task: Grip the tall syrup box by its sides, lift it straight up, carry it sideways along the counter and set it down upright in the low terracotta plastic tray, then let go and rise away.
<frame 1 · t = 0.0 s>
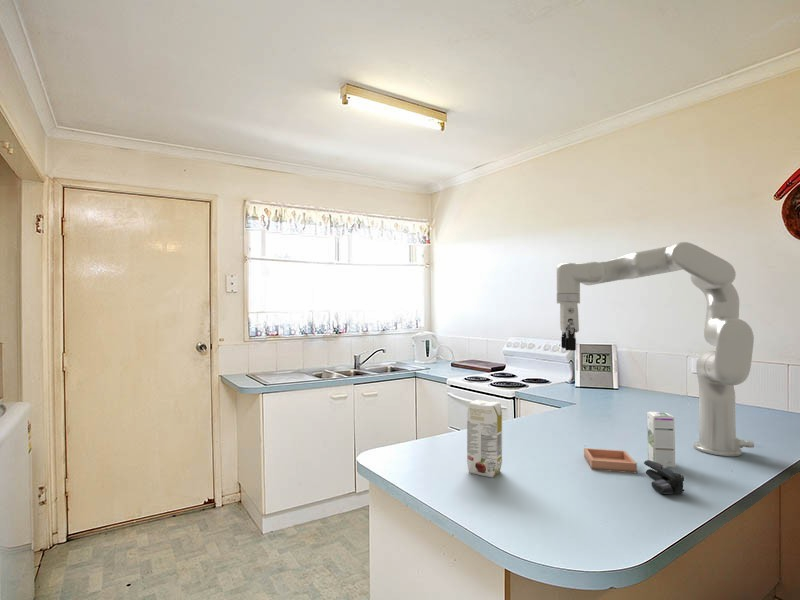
hand: (568, 349, 155), 31 cm above the table, tool pointing down, fingers open, 9 cm apart
can opener: (661, 485, 116), on the table
juice carton: (484, 472, 124), on the table
syrup box: (661, 464, 131), on the table
tray: (609, 464, 131), on the table
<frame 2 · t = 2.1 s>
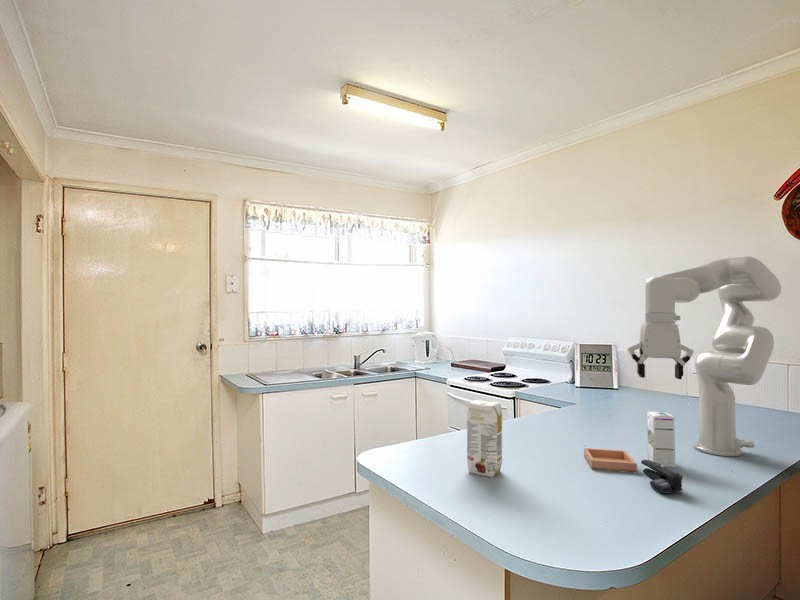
hand: (659, 377, 132), 25 cm above the table, tool pointing down, fingers open, 9 cm apart
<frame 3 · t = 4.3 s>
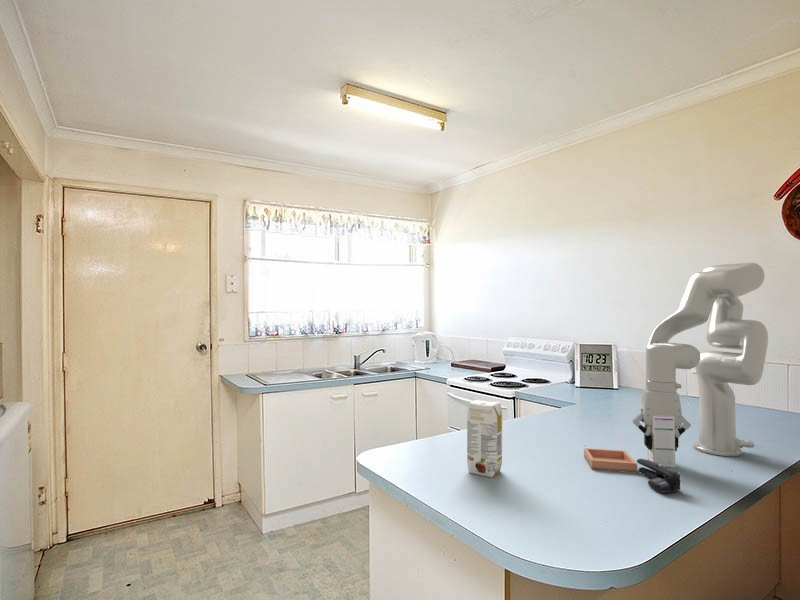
hand: (661, 448, 131), 4 cm above the table, tool pointing down, fingers closed on syrup box, 5 cm apart
syrup box: (661, 464, 131), on the table, touching gripper
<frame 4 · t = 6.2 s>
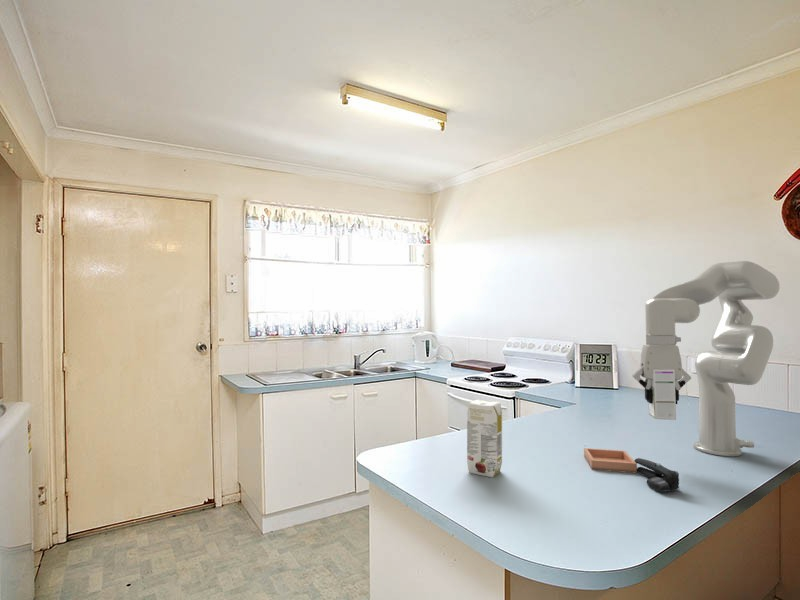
hand: (661, 402, 132), 18 cm above the table, tool pointing down, fingers closed on syrup box, 5 cm apart
syrup box: (662, 417, 132), point 13 cm above the table, touching gripper
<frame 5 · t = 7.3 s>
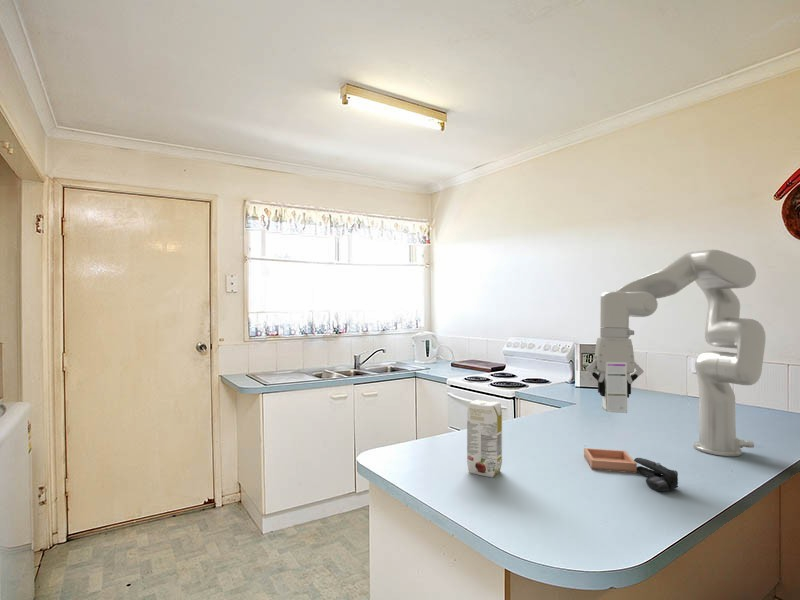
hand: (614, 395, 131), 20 cm above the table, tool pointing down, fingers closed on syrup box, 5 cm apart
syrup box: (614, 411, 131), point 15 cm above the table, touching gripper
when the fingers open (6 cm above the table, at t = 10.4 s): syrup box drops 1 cm, resting on tray.
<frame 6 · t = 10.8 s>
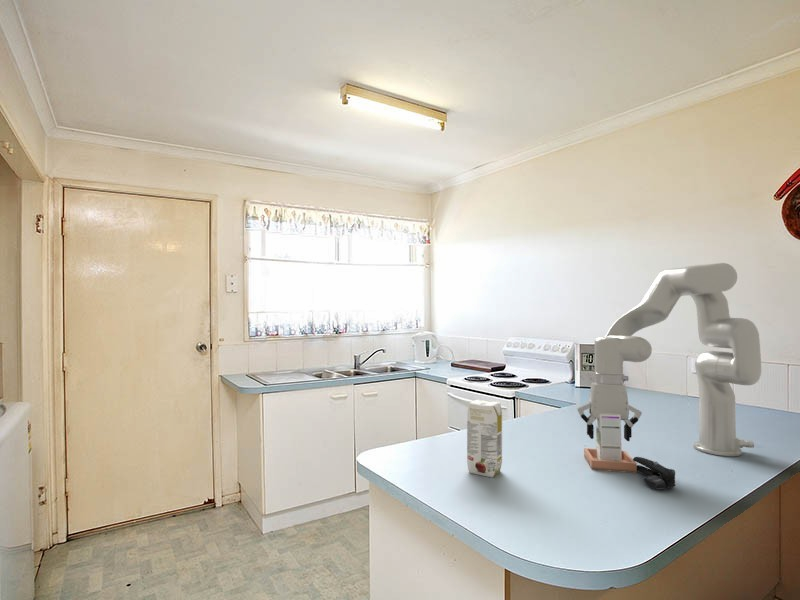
hand: (608, 438, 131), 7 cm above the table, tool pointing down, fingers open, 9 cm apart
syrup box: (608, 462, 131), resting on tray
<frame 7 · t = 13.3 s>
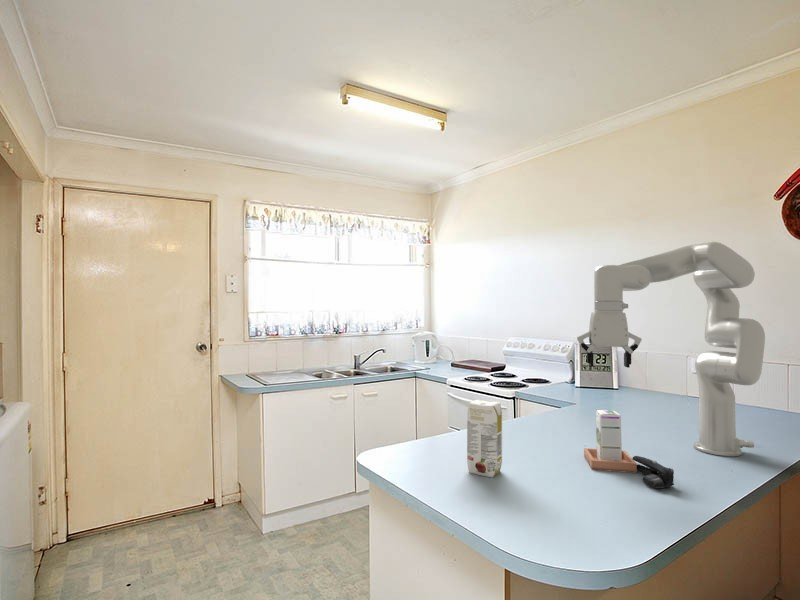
hand: (608, 366, 131), 28 cm above the table, tool pointing down, fingers open, 9 cm apart
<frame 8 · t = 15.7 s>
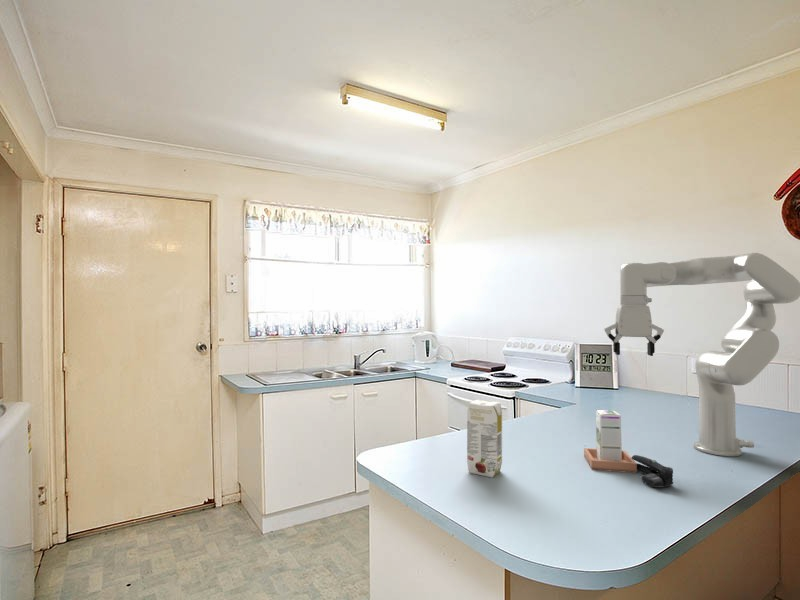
hand: (633, 355, 145), 30 cm above the table, tool pointing down, fingers open, 9 cm apart
at the end: syrup box inside the target area on the tray (0.1 cm from its centre), point 0.3 cm above the tray's base; syrup box tilted 0°; the gripper is holding nothing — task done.
